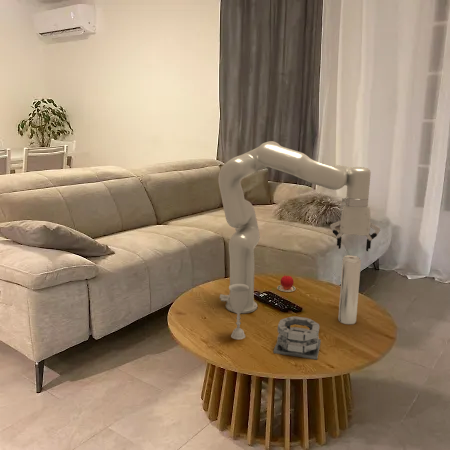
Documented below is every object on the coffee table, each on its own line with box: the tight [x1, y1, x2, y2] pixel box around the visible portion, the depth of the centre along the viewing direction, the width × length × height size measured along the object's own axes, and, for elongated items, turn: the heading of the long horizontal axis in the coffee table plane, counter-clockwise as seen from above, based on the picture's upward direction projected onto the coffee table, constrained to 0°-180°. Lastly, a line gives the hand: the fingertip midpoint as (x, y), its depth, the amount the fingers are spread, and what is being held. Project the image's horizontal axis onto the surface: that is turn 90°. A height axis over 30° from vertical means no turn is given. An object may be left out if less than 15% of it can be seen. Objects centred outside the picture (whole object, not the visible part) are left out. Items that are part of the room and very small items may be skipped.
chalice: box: [228, 284, 249, 340], centre depth 162 cm, size 7×7×18 cm
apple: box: [276, 274, 296, 293], centre depth 206 cm, size 8×8×6 cm
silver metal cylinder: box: [337, 254, 362, 325], centre depth 174 cm, size 6×6×25 cm
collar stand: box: [273, 315, 322, 360], centre depth 155 cm, size 14×13×8 cm
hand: (353, 249), depth 170 cm, fingers open, 9 cm apart
